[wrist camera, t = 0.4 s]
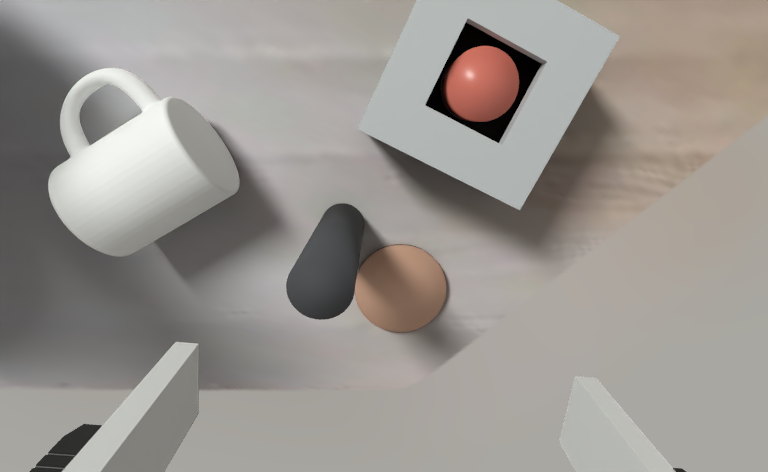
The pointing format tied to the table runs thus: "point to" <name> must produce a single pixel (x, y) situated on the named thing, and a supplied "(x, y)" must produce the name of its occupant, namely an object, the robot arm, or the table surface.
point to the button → (480, 84)
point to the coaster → (400, 288)
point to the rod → (328, 265)
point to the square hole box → (535, 113)
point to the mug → (137, 169)
